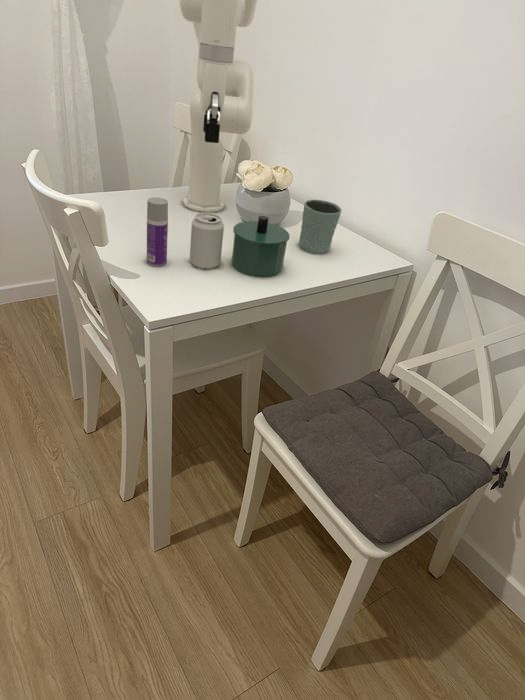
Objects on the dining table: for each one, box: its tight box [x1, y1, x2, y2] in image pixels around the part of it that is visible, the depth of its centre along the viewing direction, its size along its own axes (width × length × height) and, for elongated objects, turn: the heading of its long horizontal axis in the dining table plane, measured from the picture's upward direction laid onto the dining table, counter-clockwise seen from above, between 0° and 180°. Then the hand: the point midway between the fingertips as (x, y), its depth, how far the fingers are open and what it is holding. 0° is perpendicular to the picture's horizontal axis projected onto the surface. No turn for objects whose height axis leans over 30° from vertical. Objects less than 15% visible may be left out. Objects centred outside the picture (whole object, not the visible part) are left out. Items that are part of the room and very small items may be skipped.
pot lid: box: [232, 215, 290, 245], centre depth 122 cm, size 14×14×5 cm
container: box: [146, 196, 169, 268], centre depth 117 cm, size 5×5×15 cm
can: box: [189, 212, 225, 270], centre depth 121 cm, size 8×8×12 cm
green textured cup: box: [298, 199, 342, 255], centre depth 138 cm, size 10×10×12 cm
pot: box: [231, 233, 288, 278], centre depth 125 cm, size 13×13×8 cm
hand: (210, 137), depth 121 cm, fingers open, 9 cm apart
